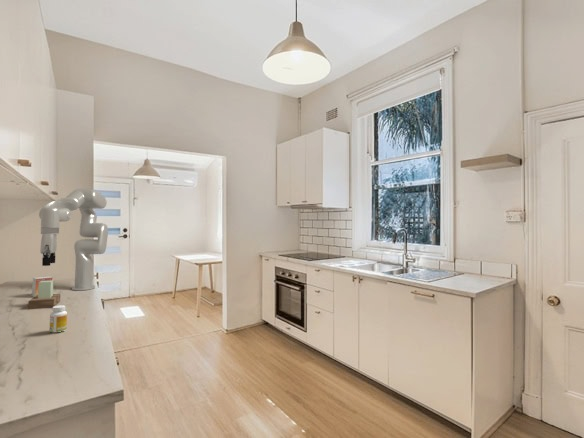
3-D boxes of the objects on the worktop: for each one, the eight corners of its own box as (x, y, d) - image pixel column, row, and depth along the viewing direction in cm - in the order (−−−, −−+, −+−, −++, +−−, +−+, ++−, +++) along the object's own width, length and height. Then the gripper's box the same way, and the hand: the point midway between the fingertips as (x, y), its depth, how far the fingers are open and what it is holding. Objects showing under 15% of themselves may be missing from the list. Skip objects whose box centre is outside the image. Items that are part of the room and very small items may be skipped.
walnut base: (36, 302, 166) (37, 295, 166) (60, 301, 170) (60, 293, 170) (28, 309, 153) (28, 301, 153) (53, 307, 157) (53, 299, 157)
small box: (34, 297, 176) (35, 278, 176) (31, 296, 180) (32, 277, 180) (52, 295, 183) (52, 277, 183) (48, 294, 186) (49, 276, 186)
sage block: (40, 296, 163) (41, 280, 163) (52, 295, 165) (53, 280, 165) (38, 298, 158) (38, 282, 159) (50, 297, 161) (50, 281, 161)
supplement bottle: (69, 328, 127) (70, 304, 127) (62, 333, 122) (63, 308, 122) (53, 329, 126) (54, 304, 126) (46, 334, 121) (47, 308, 121)
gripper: (45, 230, 170) (44, 262, 170) (35, 231, 154) (34, 267, 154) (62, 230, 173) (61, 261, 173) (54, 232, 157) (53, 266, 157)
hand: (48, 264), depth 164 cm, fingers open, 9 cm apart
